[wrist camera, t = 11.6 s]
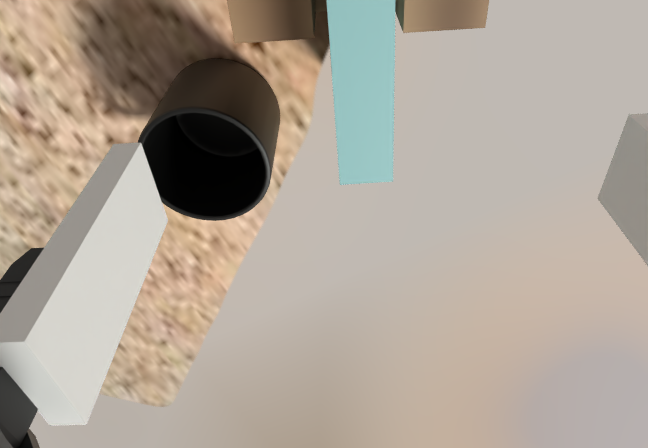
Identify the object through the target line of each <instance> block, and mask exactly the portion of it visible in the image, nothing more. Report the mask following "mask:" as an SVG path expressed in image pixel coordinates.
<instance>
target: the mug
mask: <svg viewBox="0 0 648 448" xmlns="http://www.w3.org/2000/svg"><path fill="white" fill-rule="evenodd" d="M279 125H280V110H279V105H278V102H277V99H276V96H275V94H274V92H273V91H272V89H271V87H270V86H269V85H268V83H267V82H266V81H265V80H264V79H263V78H262V77H261V76H260V75H259V74H258V73H256V72H255V71H254V70H252V69H250V68H249V67H247V66H245V65H243V64H240V63H238V62H235V61H231V60H226V59H206V60H202V61H198V62H196V63H193V64H191V65H189V66H188V67H186V68H185V69H183V70H182V71H181V72H180V73H179V74H178V75H177V77H176V78H175V79H174V81H173V82H172V84H171V86H170V87H169V89H168V91H167V92H166V94H165V95H164V97H163V99H162V100H161V102H160V103H159V105H158V107H157V108H156V110H155V112H154V113H153V115H152V116H151V118H150V120H149V121H148V123H147V125H146V126H145V128H144V129H143V131H142V133H141V135H140V137H139V140H138V143H141V144H142V147H143V150H144V153H145V156H146V158H147V161H148V164H149V167H150V170H151V173H152V176H153V178H154V181H155V184H156V187H157V190H158V193H159V196H160V199H161V201H162V203H164V204H165V205H166V206H168V207H169V208H171V209H173V210H175V211H176V212H179V213H181V214H183V215H186V216H189V217H192V218H196V219H202V220H213V221H216V220H226V219H231V218H235V217H237V216H240V215H243V214H244V213H246V212H248V211H250V210H251V209H252V208H254V207H255V206H256V205H257V204H258V203H259V202H260V201H261V200H262V198H263V197H264V195H265V194H266V192H267V189H268V187H269V184H270V179H271V173H272V167H273V161H274V155H275V149H276V143H277V137H278V131H279Z"/></svg>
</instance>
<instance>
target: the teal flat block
mask: <svg viewBox="0 0 648 448" xmlns="http://www.w3.org/2000/svg"><path fill="white" fill-rule="evenodd" d="M327 14H328V28H329V41H330V55H331V68H332V81H333V82H332V83H333V96H334V109H335V124H336V138H337V151H338V165H339V179H340V185H342V184H343V185H344V184H360V183H374V182H390V181H393V141H394V66H395V60H394V59H395V0H327Z"/></svg>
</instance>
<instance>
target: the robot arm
mask: <svg viewBox="0 0 648 448" xmlns="http://www.w3.org/2000/svg"><path fill="white" fill-rule="evenodd" d="M598 200H599V201H600V202H601V204H602V205H603V206H604V208H605V209H606V210H607V212H608V213H609V214H610V216H611V217H612V218H613V220H614V221H615V222H616V224H617V225H618V226H619V228H620V229H621V231H622V232H623V233H624V234H625V236H626V237H627V239H628V240H629V241H630V243H631V244H632V245H633V247H634V248H635V249H636V251H637V252H638V253H639V255H640V256H641V257H642V259H643V260H644V261H645V263H646V264H647V265H648V114H631V115H629V116H628V118H627V121H626V124H625V126H624V129H623V132H622V134H621V137H620V140H619V142H618V145H617V148H616V150H615V153H614V156H613V159H612V161H611V164H610V167H609V169H608V172H607V175H606V178H605V180H604V183H603V185H602V188H601V191H600V193H599V196H598ZM167 222H168V219H167V216H166V213H165V210H164V207H163V204H162V201H161V199H160V196H159V193H158V190H157V187H156V184H155V181H154V178H153V176H152V173H151V170H150V167H149V164H148V161H147V158H146V156H145V153H144V150H143V147H142V144H141V143H125V144H113V146H112V147H111V149H110V150H109V152H108V153H107V155H106V156H105V158H104V159H103V161H102V162H101V164H100V165H99V167H98V168H97V170H96V171H95V173H94V174H93V176H92V177H91V179H90V180H89V182H88V183H87V185H86V186H85V188H84V189H83V191H82V192H81V194H80V195H79V197H78V198H77V200H76V201H75V203H74V204H73V206H72V207H71V209H70V210H69V212H68V213H67V215H66V216H65V218H64V219H63V221H62V222H61V224H60V225H59V227H58V228H57V230H56V231H55V233H54V234H53V235H52V237H51V238H50V240H49V241H48V243H47V244H46V246H45V247H44V248H31V249H30V250H29V251H28V252H26V253H25V254H24V255H23V256H21V257H20V258H19V259H18V260H16V261H15V262H14V263H13V264H12V265H11V266H10V267H9V269H8V270H7V272H6V273H5V274H4V276H3V277H2V278H1V280H0V448H40V447H39V445H38V442H37V439H36V437H35V435H34V434H33V433H32V432H31V430H30V429H29V427H30V425H31V423H32V421H33V419H34V417H35V415H36V413H37V411H38V412H39V413H40V414H41V416H42V417H43V418H44V419H45V420H46V421H47V423H48V424H49V425H50V426H55V425H85V424H87V422H88V419H89V417H90V415H91V412H92V410H93V407H94V404H95V402H96V399H97V397H98V395H99V392H100V389H101V387H102V384H103V382H104V379H105V377H106V374H107V372H108V369H109V367H110V364H111V362H112V359H113V357H114V354H115V352H116V349H117V347H118V344H119V342H120V339H121V337H122V334H123V332H124V329H125V327H126V324H127V322H128V319H129V317H130V314H131V312H132V309H133V307H134V304H135V302H136V299H137V297H138V294H139V292H140V289H141V287H142V284H143V282H144V279H145V277H146V274H147V272H148V269H149V267H150V264H151V262H152V259H153V257H154V254H155V252H156V249H157V247H158V244H159V242H160V239H161V237H162V234H163V232H164V229H165V227H166V224H167Z"/></svg>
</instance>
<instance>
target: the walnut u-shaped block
mask: <svg viewBox="0 0 648 448" xmlns="http://www.w3.org/2000/svg"><path fill="white" fill-rule="evenodd" d="M227 3H228V9H229V15H230V20H231V26H232V31H233V37H234V42H235V43H250V42H266V41H282V40H297V39H313V38H314V30H315V14H316V12H327V0H227ZM488 4H489V0H395V12H396V14H397V17H398V20H399V22H400V25H401V28H402V30H403V33H407V32H408V33H409V32H424V31H439V30H440V31H441V30H455V29H456V30H457V29H472V28H485V24H486V18H487V11H488Z"/></svg>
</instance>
